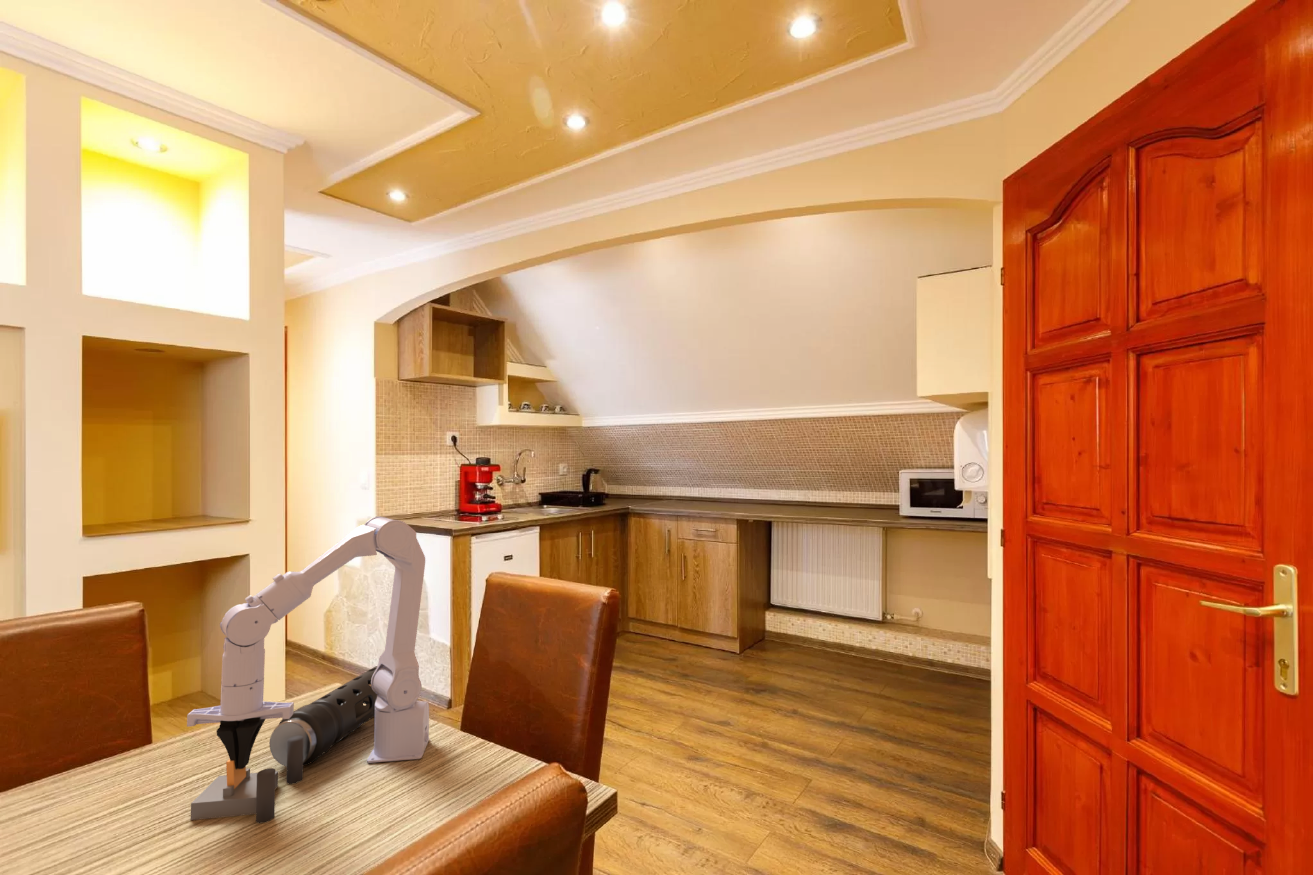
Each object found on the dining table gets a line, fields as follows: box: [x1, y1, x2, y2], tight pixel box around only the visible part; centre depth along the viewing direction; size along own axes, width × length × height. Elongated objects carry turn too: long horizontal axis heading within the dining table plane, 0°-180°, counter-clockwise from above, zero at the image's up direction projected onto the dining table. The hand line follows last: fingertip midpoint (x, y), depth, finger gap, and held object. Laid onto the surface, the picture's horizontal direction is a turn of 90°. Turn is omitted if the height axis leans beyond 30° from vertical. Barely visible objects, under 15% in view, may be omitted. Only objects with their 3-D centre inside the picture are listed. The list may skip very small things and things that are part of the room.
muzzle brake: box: [269, 665, 378, 768], centre depth 120 cm, size 10×28×10 cm
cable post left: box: [255, 767, 276, 824], centre depth 92 cm, size 2×2×7 cm
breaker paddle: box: [225, 758, 247, 789], centre depth 97 cm, size 1×4×4 cm, turn 10°
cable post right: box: [285, 736, 304, 785], centre depth 103 cm, size 2×2×7 cm
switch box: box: [190, 767, 279, 821], centre depth 97 cm, size 9×8×4 cm
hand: (239, 766), depth 97 cm, fingers closed
